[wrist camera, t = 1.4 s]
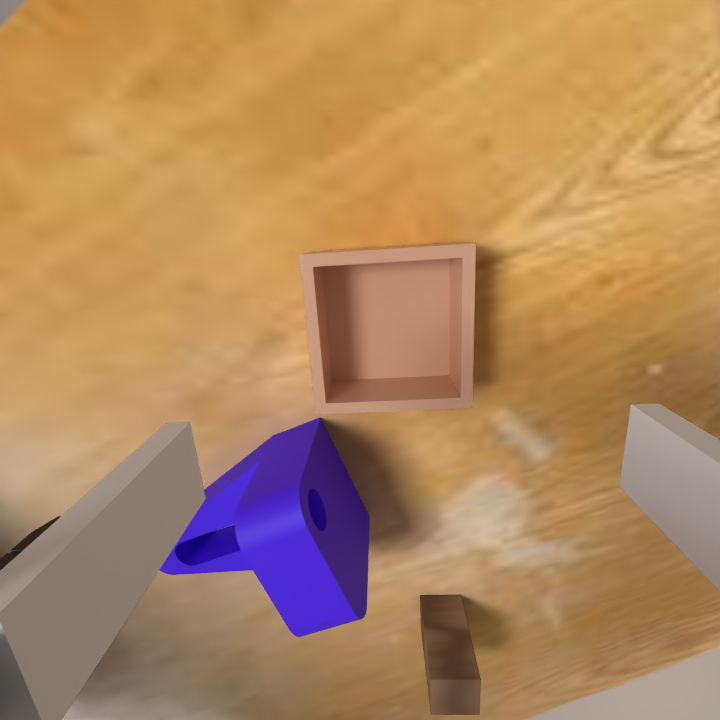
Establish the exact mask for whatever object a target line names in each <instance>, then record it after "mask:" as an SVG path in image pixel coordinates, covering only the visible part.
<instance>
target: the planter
mask: <svg viewBox="0 0 720 720" xmlns="http://www.w3.org/2000/svg"><path fill="white" fill-rule="evenodd" d="M299 260H300V269H301V279H302V289H303V298H304V308H305V317H306V327H307V337H308V346H309V356H310V366H311V375H312V385H313V395H314V404H315V414H337V413H362V412H386V411H411V410H436V409H460V408H473V362H474V312H475V262H476V243H465V242H450V243H435V244H419V245H403V246H388V247H372V248H356V249H341V250H325V251H312V252H308V253H304V254H300V255H299Z"/></svg>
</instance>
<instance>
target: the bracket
mask: <svg viewBox="0 0 720 720" xmlns="http://www.w3.org/2000/svg"><path fill="white" fill-rule="evenodd" d="M204 492H205V497H206V499H205V500H204V502H203V503H202V505H201V507H200V508H199V510H198V511H197V513H196V514H195V516H194V517H193V519H192V520H191V522H190V523H189V525H188V526H187V528H186V530H185V531H184V533H183V534H182V536H181V537H180V539H179V540H178V542H177V543H176V545H175V546H174V548H173V550H172V551H171V553H170V554H169V556H168V557H167V559H166V560H165V562H164V563H163V565H162V566H161V568H160V569H159V570H160V571H162V572H164V573H167V574H172V575H177V574H194V573H210V572H226V571H243V570H253V571H254V573H255V574H256V576H257V578H258V579H259V581H260V582H261V584H262V586H263V587H264V589H265V591H266V592H267V594H268V595H269V597H270V599H271V600H272V602H273V604H274V605H275V607H276V608H277V610H278V612H279V613H280V615H281V617H282V618H283V620H284V621H285V623H286V625H287V626H288V628H289V630H290V631H291V632H292V633H293V634H294V635H295V636H297V637H301V636H305V635H308V634H311V633H315V632H318V631H322V630H325V629H328V628H332V627H335V626H339V625H342V624H346V623H349V622H352V621H356V620H359V619H362V618H364V617H365V614H366V610H367V583H368V548H369V515H368V513H367V511H366V509H365V507H364V505H363V503H362V501H361V499H360V497H359V495H358V493H357V491H356V488H355V486H354V484H353V482H352V480H351V478H350V476H349V474H348V472H347V470H346V468H345V466H344V464H343V462H342V460H341V458H340V456H339V454H338V452H337V450H336V448H335V446H334V444H333V442H332V440H331V438H330V436H329V434H328V432H327V430H326V428H325V426H324V424H323V422H322V420H321V418H318V419H315V420H313V421H310V422H307V423H305V424H302V425H299V426H297V427H294V428H292V429H289V430H286V431H284V432H281V433H278V434H276V435H273V436H272V437H271V438H270V439H268V440H267V441H266V442H264V443H263V444H262V445H261V446H259V447H258V448H257V449H256V450H254V451H253V452H252V453H251V454H249V455H248V456H247V457H245V458H244V459H243V460H242V461H240V462H239V463H238V464H237V465H235V466H234V467H233V468H232V469H230V470H229V471H228V472H226V473H225V474H224V475H223V476H221V477H220V478H219V479H218V480H216V481H215V482H214V483H212V484H211V485H210V486H209V487H207V488H206V489H205V490H204ZM233 524H234V525H233ZM230 525H232V526H230ZM227 526H229V527H227ZM224 527H226V528H224ZM221 528H223V529H221ZM218 529H220V530H218ZM215 530H217V531H215ZM213 531H214V532H213Z"/></svg>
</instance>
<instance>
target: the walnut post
mask: <svg viewBox="0 0 720 720" xmlns="http://www.w3.org/2000/svg"><path fill="white" fill-rule="evenodd" d="M420 611H421V632H422V640H423V649H424V658H425V667H426V676H427V685H428V694H429V703H430V711H431V715H480V687H481V679H480V674H479V670H478V666H477V661H476V657H475V653H474V649H473V644H472V640H471V636H470V632H469V627H468V623H467V619H466V614H465V610H464V606H463V602H462V597H461V595H420Z"/></svg>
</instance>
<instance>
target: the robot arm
mask: <svg viewBox="0 0 720 720" xmlns="http://www.w3.org/2000/svg"><path fill="white" fill-rule="evenodd" d="M619 487H620V488H621V489H622V490H623V491H624V492H625V493H626V494H627V495H628V496H629V497H630V498H631V499H632V500H633V501H634V502H635V504H636V505H637V506H638V507H639V508H640V509H641V510H642V511H643V512H644V513H645V514H646V515H647V516H648V517H649V518H650V519H651V520H652V521H653V522H654V523H655V524H656V525H657V526H658V527H659V529H660V530H661V531H662V532H663V533H664V534H665V535H666V536H667V537H668V538H669V539H670V540H671V541H672V542H673V543H674V544H675V545H676V546H677V547H678V548H679V549H680V550H681V551H682V552H683V553H684V555H685V556H686V557H687V558H688V559H689V560H690V561H691V562H692V563H693V564H694V565H695V566H696V567H697V568H698V569H699V570H700V571H701V572H702V573H703V574H704V575H705V576H706V577H707V578H708V580H709V581H710V582H711V583H712V584H713V585H714V586H715V587H716V588H717V589H718V590H719V591H720V440H719V439H717V438H716V437H714V436H712V435H711V434H709V433H707V432H706V431H704V430H702V429H701V428H699V427H697V426H696V425H694V424H692V423H691V422H689V421H687V420H685V419H684V418H682V417H680V416H679V415H677V414H675V413H674V412H672V411H670V410H669V409H667V408H665V407H664V406H662V405H660V404H659V403H656V404H631V409H630V416H629V422H628V429H627V436H626V443H625V450H624V457H623V464H622V471H621V478H620V485H619ZM205 499H206V497H205V492H204V487H203V483H202V478H201V473H200V468H199V463H198V458H197V453H196V448H195V443H194V438H193V433H192V429H191V424H190V422H180V423H166V424H164V425H163V426H162V427H161V428H160V429H159V430H158V431H157V432H156V433H154V434H153V435H152V436H151V437H150V438H149V439H148V440H147V441H145V442H144V443H143V444H142V445H141V446H140V447H139V448H138V449H136V450H135V451H134V452H133V453H132V454H131V455H130V456H129V457H127V458H126V459H125V460H124V461H123V462H122V463H121V464H120V465H118V466H117V467H116V468H115V469H114V470H113V471H112V472H111V473H109V474H108V475H107V476H106V477H105V478H104V479H103V480H102V481H100V482H99V483H98V484H97V485H96V486H95V487H94V488H93V489H91V490H90V491H89V492H88V493H87V494H86V495H85V496H84V497H83V498H81V499H80V500H79V501H78V502H77V503H76V504H75V505H74V506H72V507H71V508H70V509H69V510H68V511H67V512H66V513H65V514H63V515H62V516H58V517H57V518H55V519H53V520H51V521H50V522H48V523H46V524H45V525H43V526H41V527H40V528H38V529H36V530H35V531H33V532H32V533H30V534H29V535H28V536H27V537H26V538H25V539H23V540H22V541H21V542H20V543H19V544H18V545H17V546H15V547H14V548H13V549H12V550H11V553H10V554H6V555H5V556H4V557H3V558H1V559H0V720H62V718H63V717H64V715H65V714H66V712H67V711H68V709H69V708H70V706H71V705H72V703H73V702H74V700H75V698H76V697H77V695H78V694H79V692H80V691H81V689H82V688H83V686H84V685H85V683H86V682H87V680H88V679H89V677H90V675H91V674H92V672H93V671H94V669H95V668H96V666H97V665H98V663H99V662H100V660H101V659H102V657H103V655H104V654H105V652H106V651H107V649H108V648H109V646H110V645H111V643H112V642H113V640H114V639H115V637H116V636H117V634H118V632H119V631H120V629H121V628H122V626H123V625H124V623H125V622H126V620H127V619H128V617H129V616H130V614H131V612H132V611H133V609H134V608H135V606H136V605H137V603H138V602H139V600H140V599H141V597H142V596H143V594H144V593H145V591H146V589H147V588H148V586H149V585H150V583H151V582H152V580H153V579H154V577H155V576H156V574H157V573H158V571H159V569H160V568H161V566H162V565H163V563H164V562H165V560H166V559H167V557H168V556H169V554H170V553H171V551H172V550H173V548H174V546H175V545H176V543H177V542H178V540H179V539H180V537H181V536H182V534H183V533H184V531H185V530H186V528H187V526H188V525H189V523H190V522H191V520H192V519H193V517H194V516H195V514H196V513H197V511H198V510H199V508H200V507H201V505H202V503H203V502H204V500H205Z"/></svg>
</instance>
